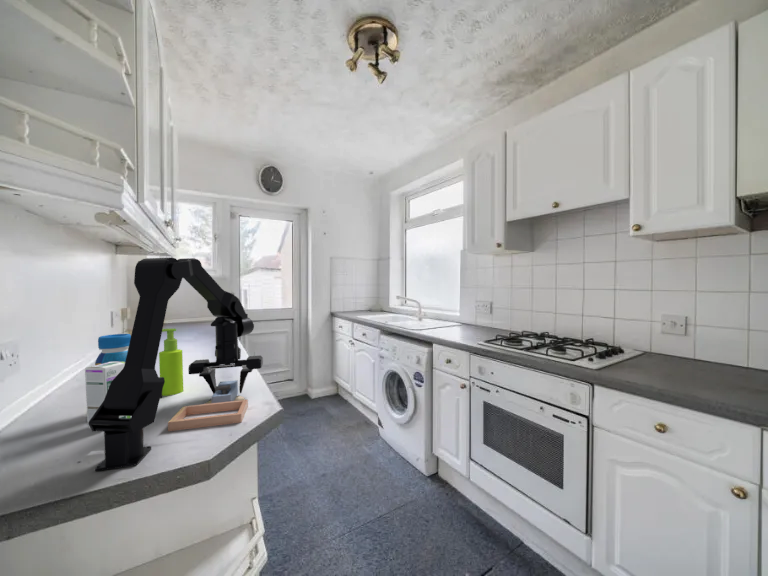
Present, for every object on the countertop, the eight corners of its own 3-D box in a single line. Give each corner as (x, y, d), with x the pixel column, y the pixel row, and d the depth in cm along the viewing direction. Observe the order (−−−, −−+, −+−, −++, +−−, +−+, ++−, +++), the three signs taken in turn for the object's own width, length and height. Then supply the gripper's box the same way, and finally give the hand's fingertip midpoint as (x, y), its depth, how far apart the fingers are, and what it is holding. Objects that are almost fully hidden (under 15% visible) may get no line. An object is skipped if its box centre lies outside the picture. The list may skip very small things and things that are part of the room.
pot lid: (241, 408, 85) (241, 389, 85) (199, 413, 83) (198, 394, 83) (247, 396, 95) (246, 379, 95) (209, 399, 93) (209, 382, 92)
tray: (241, 424, 75) (241, 414, 75) (168, 433, 71) (168, 422, 71) (248, 409, 85) (247, 399, 85) (183, 416, 81) (183, 406, 81)
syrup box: (106, 430, 74) (104, 367, 73) (86, 429, 75) (84, 366, 75) (131, 420, 79) (129, 361, 79) (111, 418, 80) (109, 360, 80)
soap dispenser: (154, 395, 98) (152, 329, 98) (181, 389, 102) (179, 326, 102) (157, 400, 93) (155, 330, 93) (185, 394, 98) (183, 328, 98)
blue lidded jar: (117, 417, 81) (115, 337, 81) (86, 416, 82) (84, 338, 82) (145, 404, 90) (142, 332, 90) (116, 404, 90) (114, 333, 90)
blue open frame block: (230, 406, 86) (230, 391, 86) (211, 408, 84) (211, 393, 84) (237, 393, 96) (237, 380, 96) (220, 395, 94) (220, 381, 94)
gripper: (264, 334, 104) (265, 382, 104) (199, 338, 99) (200, 389, 99) (260, 339, 93) (261, 394, 93) (187, 344, 88) (188, 401, 88)
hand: (228, 394), depth 94 cm, fingers open, 6 cm apart
